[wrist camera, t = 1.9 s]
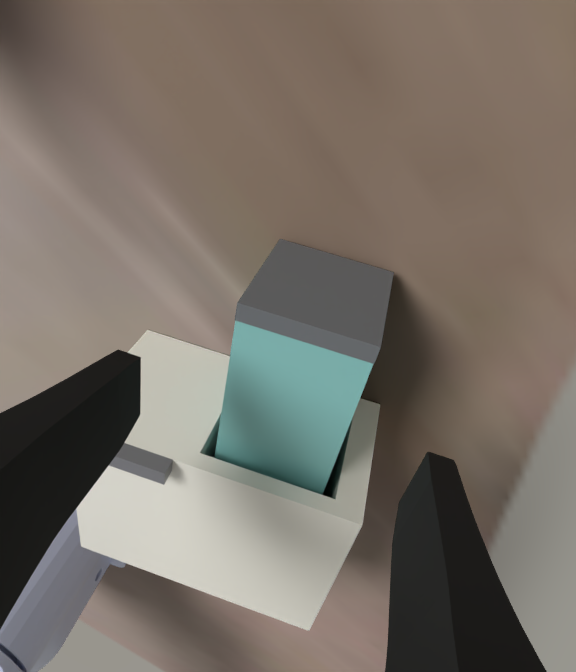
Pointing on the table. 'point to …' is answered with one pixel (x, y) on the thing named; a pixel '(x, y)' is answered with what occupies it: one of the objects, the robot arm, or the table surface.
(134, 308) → the table surface
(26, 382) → the table surface
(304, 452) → the plug
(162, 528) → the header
